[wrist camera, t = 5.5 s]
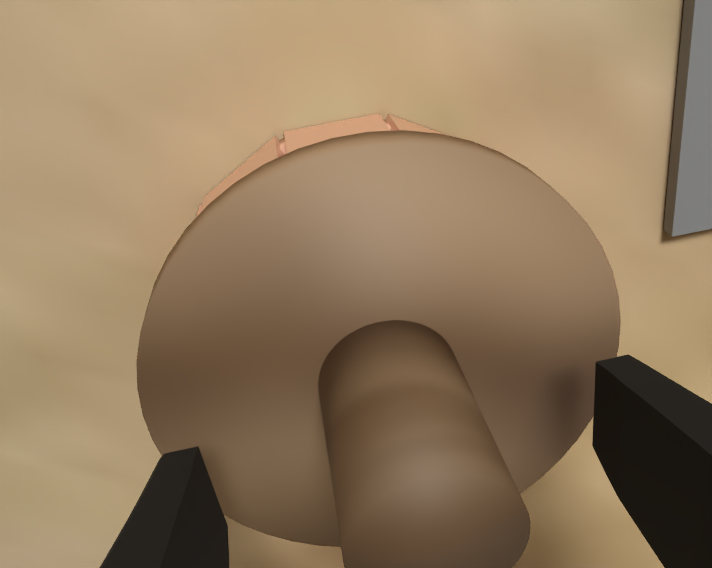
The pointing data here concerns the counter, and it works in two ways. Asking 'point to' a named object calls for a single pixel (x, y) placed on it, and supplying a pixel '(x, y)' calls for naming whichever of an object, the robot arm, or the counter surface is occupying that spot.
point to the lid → (381, 347)
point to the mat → (692, 127)
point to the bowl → (308, 137)
